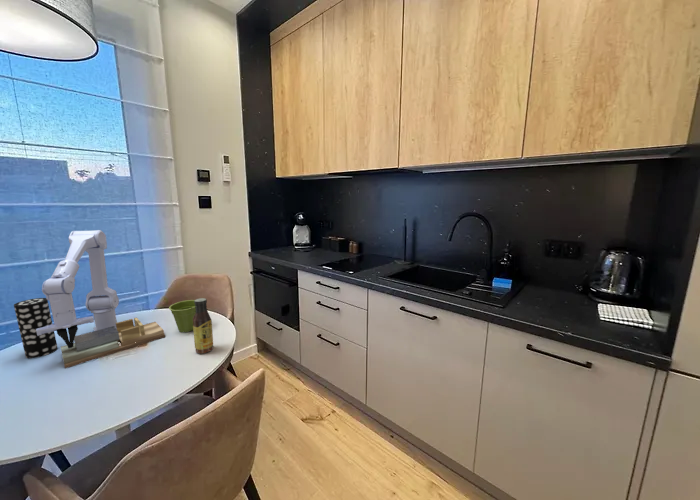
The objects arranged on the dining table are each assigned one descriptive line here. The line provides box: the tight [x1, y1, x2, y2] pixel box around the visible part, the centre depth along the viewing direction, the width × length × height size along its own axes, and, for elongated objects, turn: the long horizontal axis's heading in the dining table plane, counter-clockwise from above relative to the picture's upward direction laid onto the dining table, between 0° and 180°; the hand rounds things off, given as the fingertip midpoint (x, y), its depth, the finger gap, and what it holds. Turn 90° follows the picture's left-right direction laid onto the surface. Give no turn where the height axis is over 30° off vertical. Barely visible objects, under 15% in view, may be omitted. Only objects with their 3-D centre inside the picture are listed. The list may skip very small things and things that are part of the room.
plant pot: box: [168, 299, 196, 333], centre depth 127 cm, size 12×12×11 cm
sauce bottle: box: [192, 297, 214, 354], centre depth 108 cm, size 6×6×20 cm
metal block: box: [74, 326, 119, 351], centre depth 110 cm, size 8×12×3 cm, turn 137°
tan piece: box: [60, 317, 166, 369], centre depth 114 cm, size 14×30×7 cm, turn 137°
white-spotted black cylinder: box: [13, 297, 58, 359], centre depth 108 cm, size 8×8×20 cm
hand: (70, 346), depth 105 cm, fingers closed
